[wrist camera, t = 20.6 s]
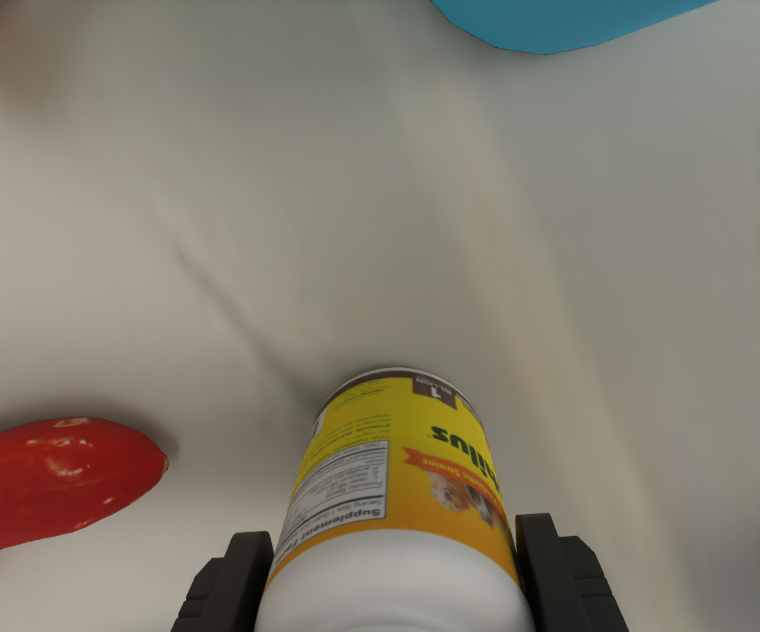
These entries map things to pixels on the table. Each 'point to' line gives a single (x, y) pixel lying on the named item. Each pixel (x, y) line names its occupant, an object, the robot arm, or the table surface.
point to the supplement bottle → (396, 519)
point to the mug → (558, 20)
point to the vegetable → (71, 475)
